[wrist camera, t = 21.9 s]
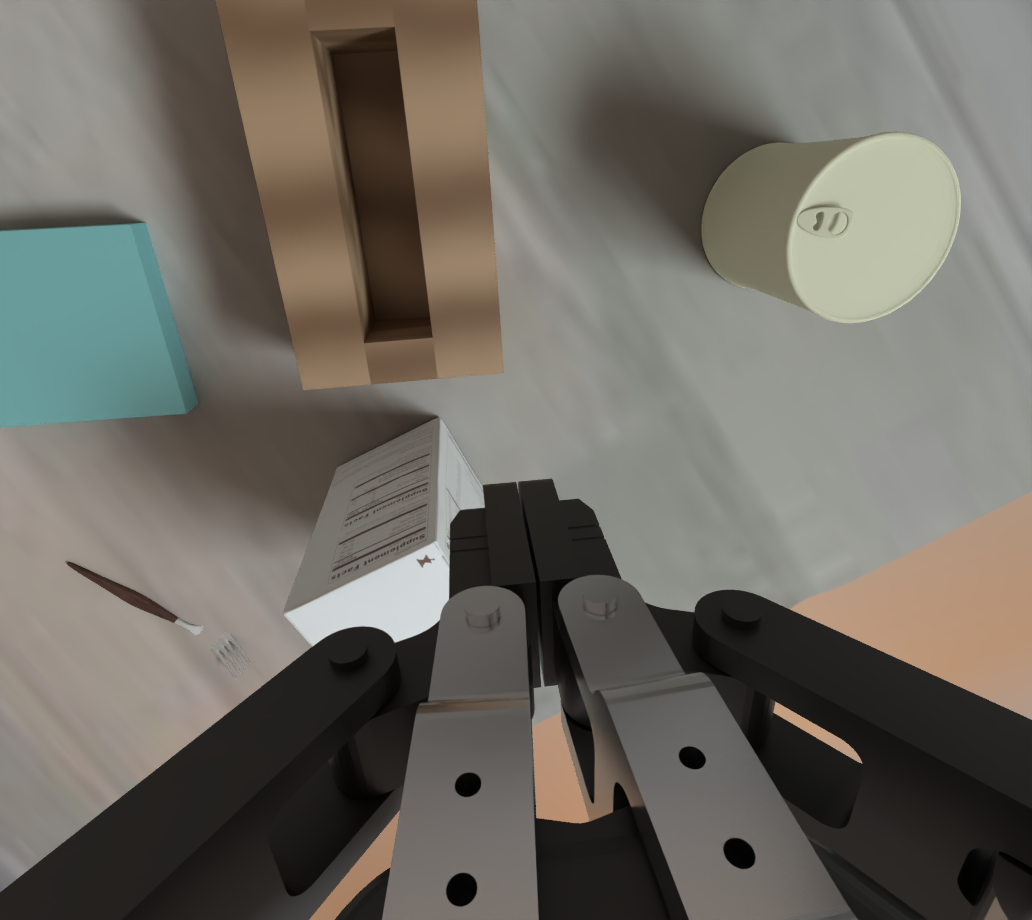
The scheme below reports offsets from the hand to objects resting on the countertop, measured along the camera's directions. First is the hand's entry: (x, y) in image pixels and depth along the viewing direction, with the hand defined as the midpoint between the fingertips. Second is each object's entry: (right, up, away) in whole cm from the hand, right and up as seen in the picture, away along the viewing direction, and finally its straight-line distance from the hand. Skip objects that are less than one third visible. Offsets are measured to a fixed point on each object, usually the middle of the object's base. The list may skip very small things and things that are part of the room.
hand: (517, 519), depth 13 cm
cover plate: (-23, +10, +26) cm, 36 cm away
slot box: (-8, +18, +25) cm, 32 cm away
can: (+17, +18, +28) cm, 37 cm away
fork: (-29, -11, +37) cm, 49 cm away
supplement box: (-8, -1, +34) cm, 35 cm away
